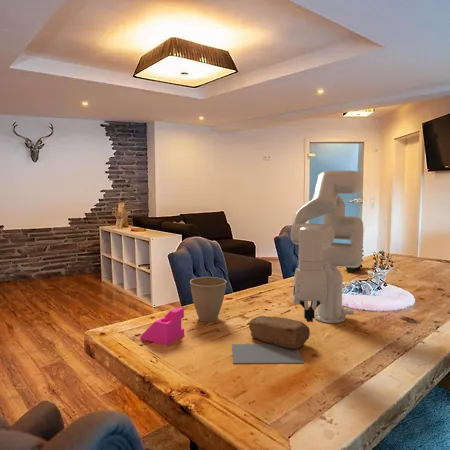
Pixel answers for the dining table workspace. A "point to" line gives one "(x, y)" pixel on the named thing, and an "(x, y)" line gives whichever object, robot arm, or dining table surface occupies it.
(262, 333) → the block
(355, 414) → the dining table surface
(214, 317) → the plant pot
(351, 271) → the toy figurine
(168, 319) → the bracket
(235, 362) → the mat
